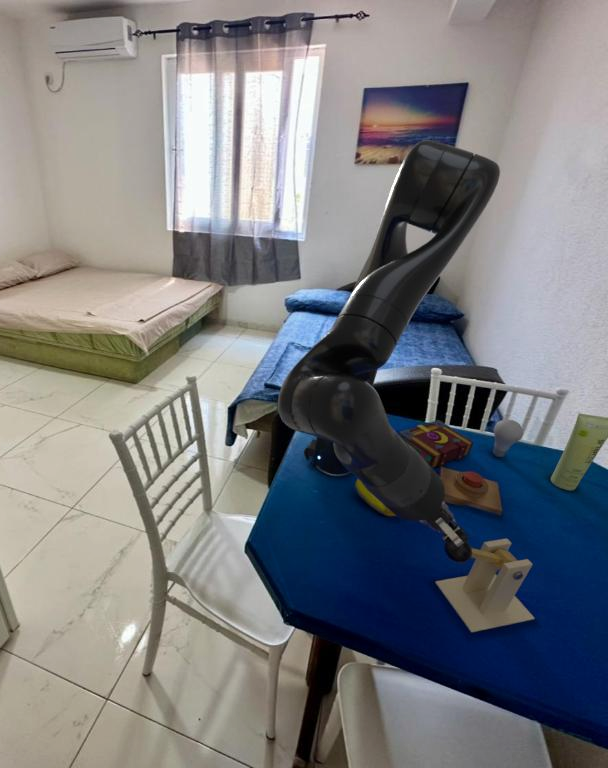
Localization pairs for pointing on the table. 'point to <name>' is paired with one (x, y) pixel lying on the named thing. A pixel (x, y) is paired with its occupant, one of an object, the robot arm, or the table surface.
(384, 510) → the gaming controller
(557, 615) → the table surface
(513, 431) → the lightbulb
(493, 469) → the table surface
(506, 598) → the wooden lever stand
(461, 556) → the wooden lever handle
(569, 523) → the table surface
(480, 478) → the button
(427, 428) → the decorative book
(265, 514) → the table surface
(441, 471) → the button block
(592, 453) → the tube
